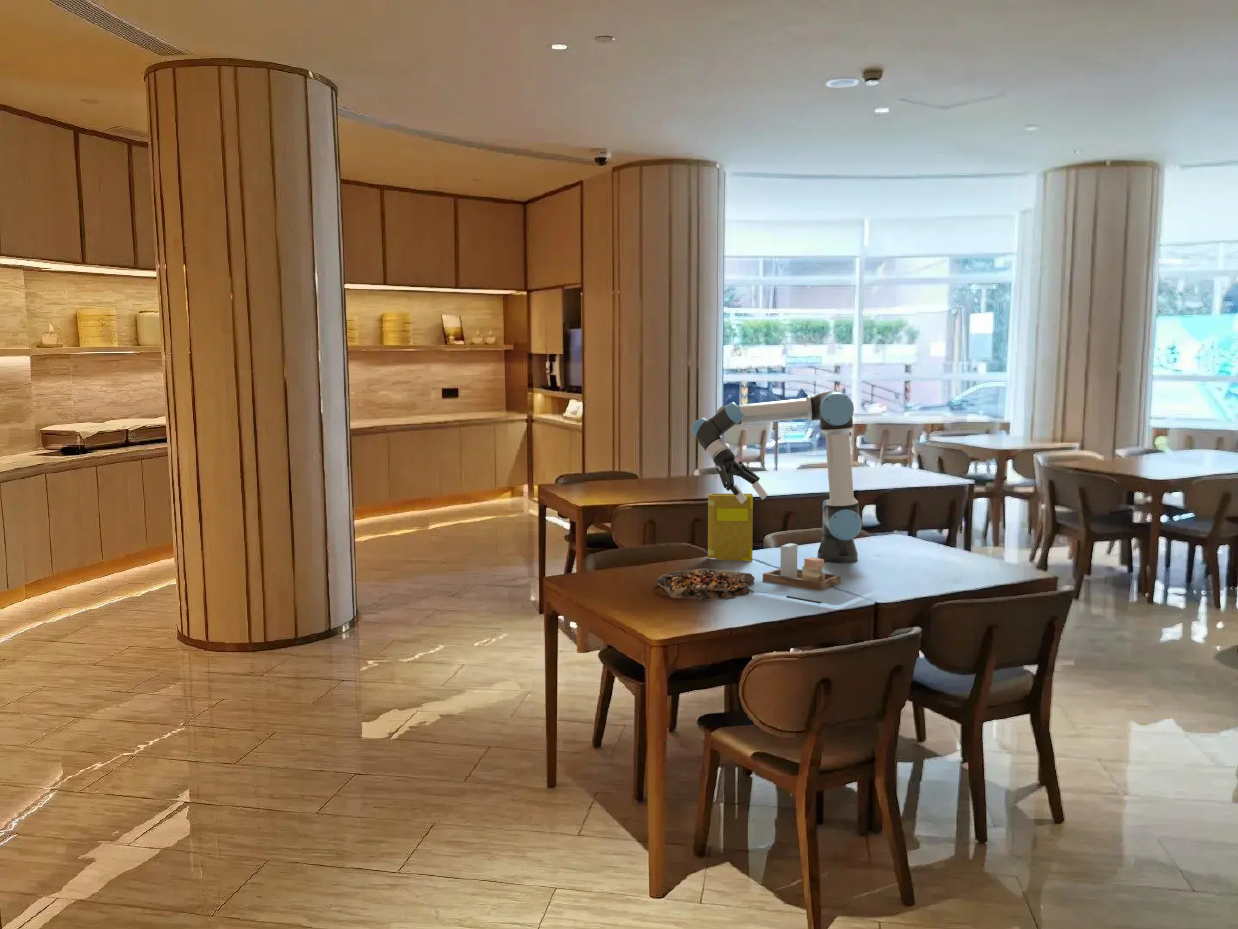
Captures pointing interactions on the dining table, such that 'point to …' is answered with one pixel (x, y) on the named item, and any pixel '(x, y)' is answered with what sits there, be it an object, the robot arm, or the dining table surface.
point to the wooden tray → (801, 580)
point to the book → (730, 527)
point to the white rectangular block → (789, 560)
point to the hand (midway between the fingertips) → (754, 499)
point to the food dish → (706, 584)
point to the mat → (804, 599)
